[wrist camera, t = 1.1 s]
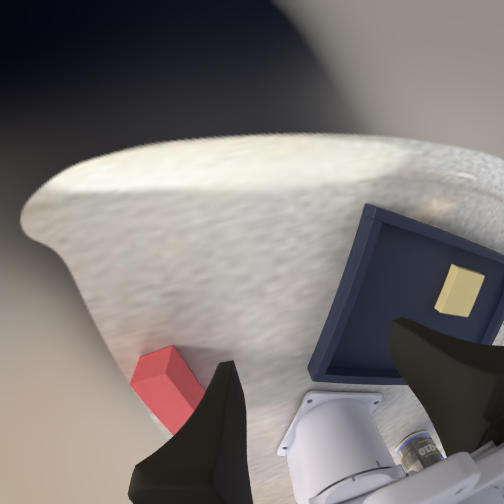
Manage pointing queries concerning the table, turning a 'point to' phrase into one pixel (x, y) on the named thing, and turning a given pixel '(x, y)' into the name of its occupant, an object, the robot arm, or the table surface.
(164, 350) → the eraser
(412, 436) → the pill bottle
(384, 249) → the tray
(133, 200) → the table surface
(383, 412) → the table surface
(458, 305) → the beige square tile
